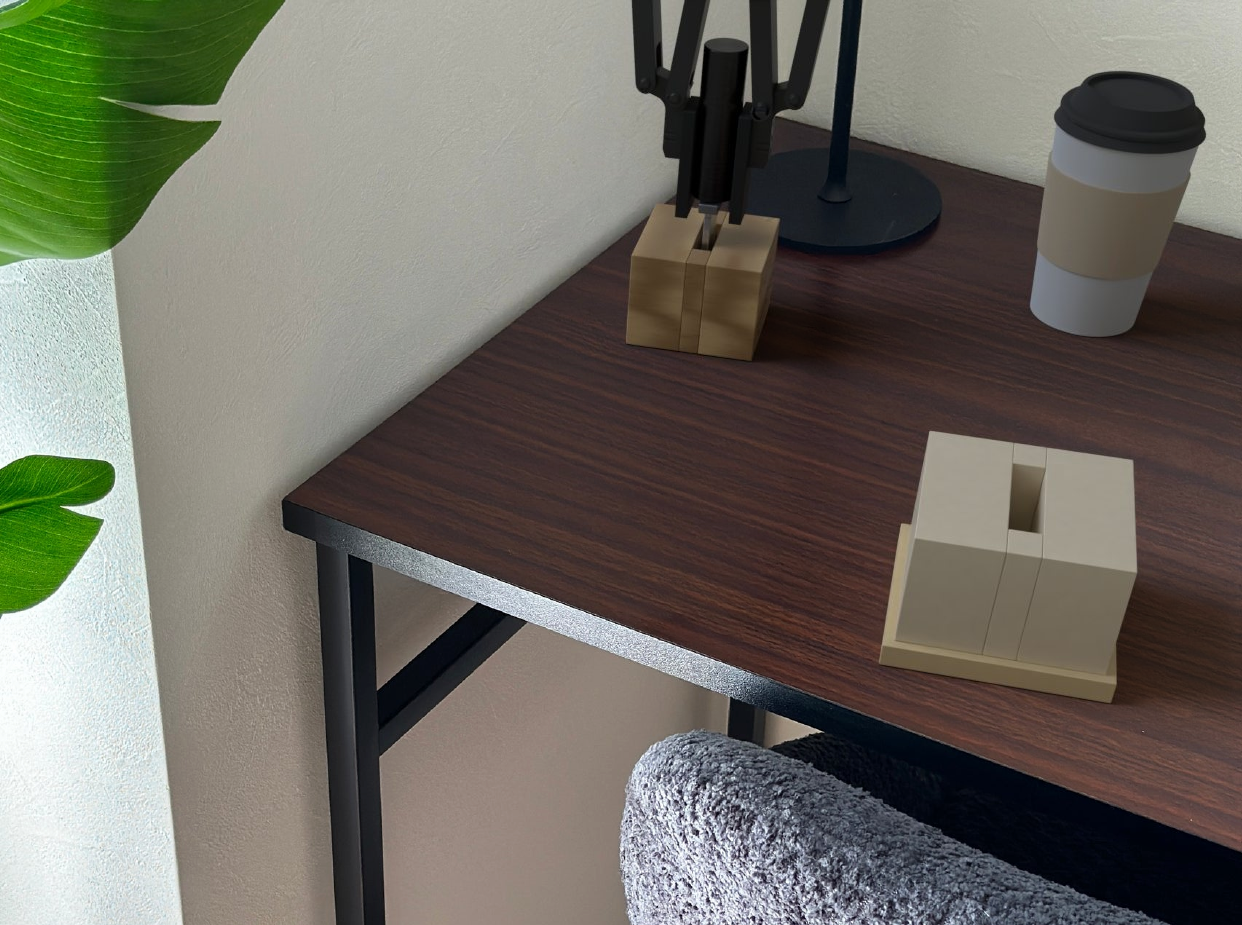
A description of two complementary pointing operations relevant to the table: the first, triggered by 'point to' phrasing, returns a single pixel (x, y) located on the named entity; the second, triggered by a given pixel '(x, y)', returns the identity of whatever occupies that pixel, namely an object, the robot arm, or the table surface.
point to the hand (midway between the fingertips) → (711, 211)
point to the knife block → (701, 284)
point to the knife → (718, 127)
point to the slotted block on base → (1014, 567)
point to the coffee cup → (1111, 198)
